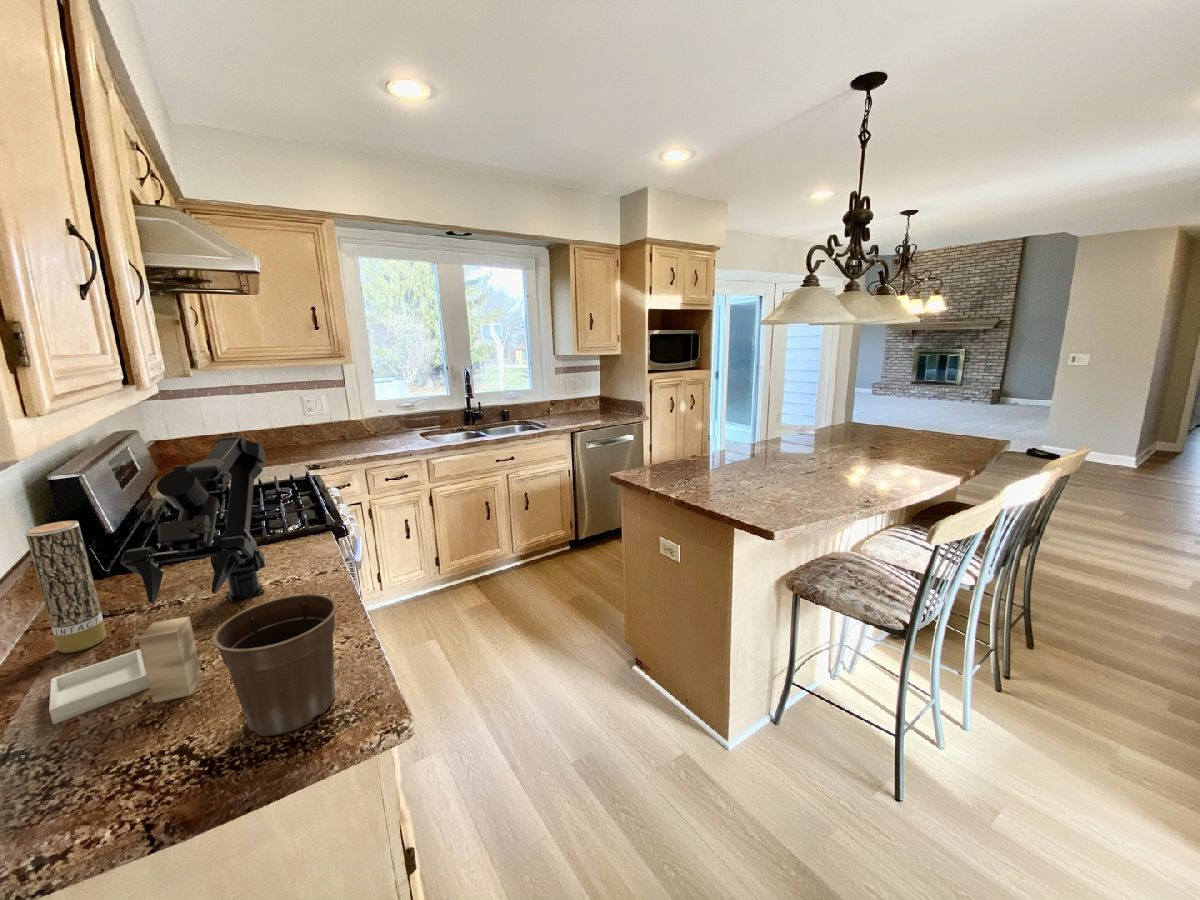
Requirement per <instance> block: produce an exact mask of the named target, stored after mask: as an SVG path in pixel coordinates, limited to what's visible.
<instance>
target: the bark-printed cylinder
mask: <svg viewBox="0 0 1200 900" xmlns="http://www.w3.org/2000/svg"><path fill="white" fill-rule="evenodd" d="M25 536H26V541H27V543H28V547H29V550H30V554H31V557H32V562H33V566H34V569H35V573H36V576H37V581H38V584H39V588H40V591H41V594H42V597H43V602H44V606H45V609H46V612H47V616H48V619H49V625H50V627H51V630H52V634H53V638H54V640H55V645H56V648H57V650H58V652H60V653H63V654H72V653H77V652H81V651H85V650H87V649H90V648H92V647H94V646H96V645H98V644H99V643H101V642H103V641H104V640H105V639H106V636H107V630H106V626H105V621H104V619H103V613H102V610H101V606H100V603H99V602H100V601H99V598H98V594H97V589H96V587H95V586H96V585H95V582H94V578H93V574H92V570H91V566H90V561H89V557H88V554H87V550H86V546H85V542H84V539H83V534H82V531H81V525H80V523H79V521H78V520H62V521H56V522H50V523H45V524H42V525H37V526H34V527H31V528H29V529H26V530H25Z"/></svg>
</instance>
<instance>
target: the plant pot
mask: <svg viewBox="0 0 1200 900" xmlns="http://www.w3.org/2000/svg"><path fill="white" fill-rule="evenodd" d="M337 605H338V604H337V602H336V600H335V599H334V598H332V597H330V596H327V595H324V594H319V593H301V594H300V593H299V594H294V595H293V594H292V595H288V596H287V595H286V596H284V597H279V598H274V599H271V600H267V601H265V602H262V603H259V604H256V605H253V606H251V607H249V608H246V609H244V610H242V611H240V612H238V613H236V614H234V615H233V616H231V617H230V618H228V619H227V620H226V621H224V622H223V623H222V624H220V625H219V626H218V627H217V628H216V630H215V631H214V633H213V634H212V638H211V641H212V643H213V646H214V647H215V648H216V649H217V650H219V653H220V656H221V658H222V659H221V660H222V662H223V664H224V666H226V667H227V668H228V671H229V674H230V676H231V680H232V682H233V685H234V688H235V691H236V694H237V697H238V700H239V703H240V706H241V709H242V713H243V716H244V719H245V722H246V726H247V728H248V731H249V732H252V731H253V732H254V733H256V735H257V736H261V737H262V736H263V737H264V736H265V737H269V736H270V737H272V736H278V735H283V734H287V733H290V732H293V731H296V730H298V729H301V728H303V727H305V726H307V725H309V724H311V723H312V721H313V720H314V719H315V718H316V717H317V716H320V715H323V714H324V713H325V712H326V711H327V710H328V709H330V707H331V705H332V704H333V701H334V700H335V696H336V695H335V694H336V688H335V687H336V686H335V685H336V684H335V683H336V682H335V663H334V662H335V661H334V632H335V629H336V627H335V625H336V624H335V614H336V612H337Z"/></svg>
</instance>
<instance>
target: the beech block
mask: <svg viewBox="0 0 1200 900" xmlns="http://www.w3.org/2000/svg"><path fill="white" fill-rule="evenodd" d="M137 639H138V643H139V649H140V650H141V654H142V659H143V663H144V667H145V671H146V676H147V680H148V684H149V690H150V696H151V699H152V703H153V704H155V703H161V702H164V701H169V700H174V699H178V698H183V697H188V696H192V695H191V694H192V693H193V691H195V689H196V687H197V686H198V684H199V683H200V681H201V680H202V679H203V674H202V669H201V666H200V661H199V660H200V659H199V655H198V650H197V646H196V641H195V637H194V631H193V626H192V622H191V617H190V616H184V617H177V618H171V619H166V620H160V621H159V620H158V621H154V622H152V623H151V624H150V626H148V627H147V628H146V629H145V631H143V633H141V635H140V636H139V637H137Z"/></svg>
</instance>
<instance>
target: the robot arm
mask: <svg viewBox="0 0 1200 900" xmlns="http://www.w3.org/2000/svg"><path fill="white" fill-rule="evenodd" d="M266 461H267V455H266V451H265V450H264V448H263V446H261V445H260V444H259V443H256V442H253V441H250V440H247V439H246V438H245V437H243V436H239V435H238V436H236V435H235V436H222V437H220V438H218V439H216V445H215V446H214V447H213V448H212V449H211V450H210V451H209V453H208V454H207V455H206V456H205V458H203V459H202V460H200V461H197V462H194V463H191V464H189V465H181V466H180V465H176V466H174V467H173V471H171V472H168V473H167V474H165V475H164V476H162V477H161V478H160V479H159V480H158V482H157V484H156V489H157V492H159V494H160V495H161V496H162V497H164V499H165V500H166V501H167V502H169V504H170V505H172V506H173V508H175V509H177V510H179V516H178V520H174V521H171V522H162V523H161V522H160V523H159V524H158V532H157V533H158V539H157V540H158V543H161V542H165V546H166V547H167V548H169V549H170V548H171V550H169V551H168V550H167V551H162V552H159V551H157V550H156V549H155V548H154V547H152V546H147V547H145V546H144V547H137V548H130V549H127V550H126V551H124V553H122V555H121V558H120V562H119V564H120V565H121V566H123V567H124V568H126V569H128V570H129V571H131V572H132V573H134V574H137V575H140V577H141V578H142V581H143V584H144V587H145V588H144V589H145V592H146V596H147V600H148V603H150V604H152V605H153V604H155V602H156V600H157V598H158V596H159V591H160V588H161V584H162V580H163V578H164V577H163V576H164V571H162V570H161V569H162V568H163V567H164V564H165V563H170V562H176V561H177V562H178V561H185V560H192V559H193V560H194V559H200V558H209V557H210V564H211V567H212V568H213V569H212V570H213V571H214V575H213V580H212V584H211V594H213V595H216V594H218V592H219V591H220V589H222V588H221V587H222V586H223V585H224V584H225V582H226V581H227V583H228V584H227V585H228V590H229V591H226V593H225V594H227V595H226V596H227V598H228V599H229V601H230V602H231V603H237V602H240V601H243V600H246V599H248V597H249V598H251V597H250V596H253V597H255V596H254V595H256V596H258V595H257V594H259V593H262V592H264V593H265V590H264V588H263V587H262V586H261V585H260V583H259V577H258V572H259V571H260V570H261V569H263V568H265V567H266V562H265V554H264V553H263V552H262V551H261V550H260V548H259V547H258V546H257V542H256V540H254V538H253V536H252V535H251V532H250V531H251V520H252V519H251V518H252V510H253V509H252V507H253V497H254V496H253V495H254V486H255V484H254V483H255V480H256V479H257V477H259V476H260V474H261V473H263V469H264V463H266ZM229 485H230V486H229ZM228 486H229V492H228V493H229V494H228V502H227V503H228V504H227V513H226V522H225V530H224V532H223V533H222V534H220V535H217V531H218V530H217V529H216V523H217V522H216V521H217V514H218V511H219V510H220V509H221V506H220V503H219V501H220V500H219V498H218V497H217V496H216V495H214V494H212V493H218V492H219V493H221V492H225V490H226V489H227V488H228ZM214 535H215V536H216V537H214ZM213 539H214V540H213ZM213 543H214V544H213ZM261 591H262V592H261ZM262 594H263V593H262ZM259 595H260V594H259ZM245 598H246V599H245ZM242 599H243V600H242ZM239 600H240V601H239Z"/></svg>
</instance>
